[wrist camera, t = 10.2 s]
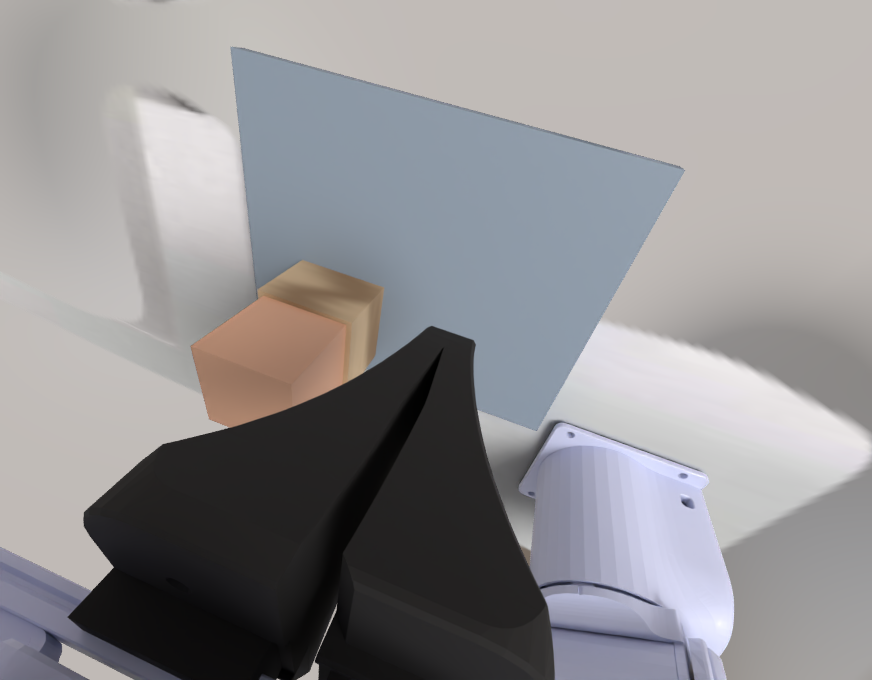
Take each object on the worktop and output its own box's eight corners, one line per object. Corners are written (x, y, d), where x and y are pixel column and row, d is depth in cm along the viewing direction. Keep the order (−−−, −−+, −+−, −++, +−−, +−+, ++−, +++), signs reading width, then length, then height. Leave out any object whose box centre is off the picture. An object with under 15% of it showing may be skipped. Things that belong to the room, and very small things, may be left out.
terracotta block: (346, 324, 18) (291, 384, 15) (342, 390, 21) (294, 453, 18) (263, 295, 19) (190, 346, 15) (269, 362, 22) (209, 419, 18)
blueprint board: (680, 166, 15) (685, 170, 15) (537, 422, 25) (536, 431, 24) (242, 47, 17) (230, 46, 17) (267, 324, 27) (260, 330, 26)
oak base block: (384, 287, 21) (351, 323, 18) (375, 355, 25) (346, 396, 21) (302, 259, 22) (257, 289, 19) (303, 330, 25) (265, 365, 22)
